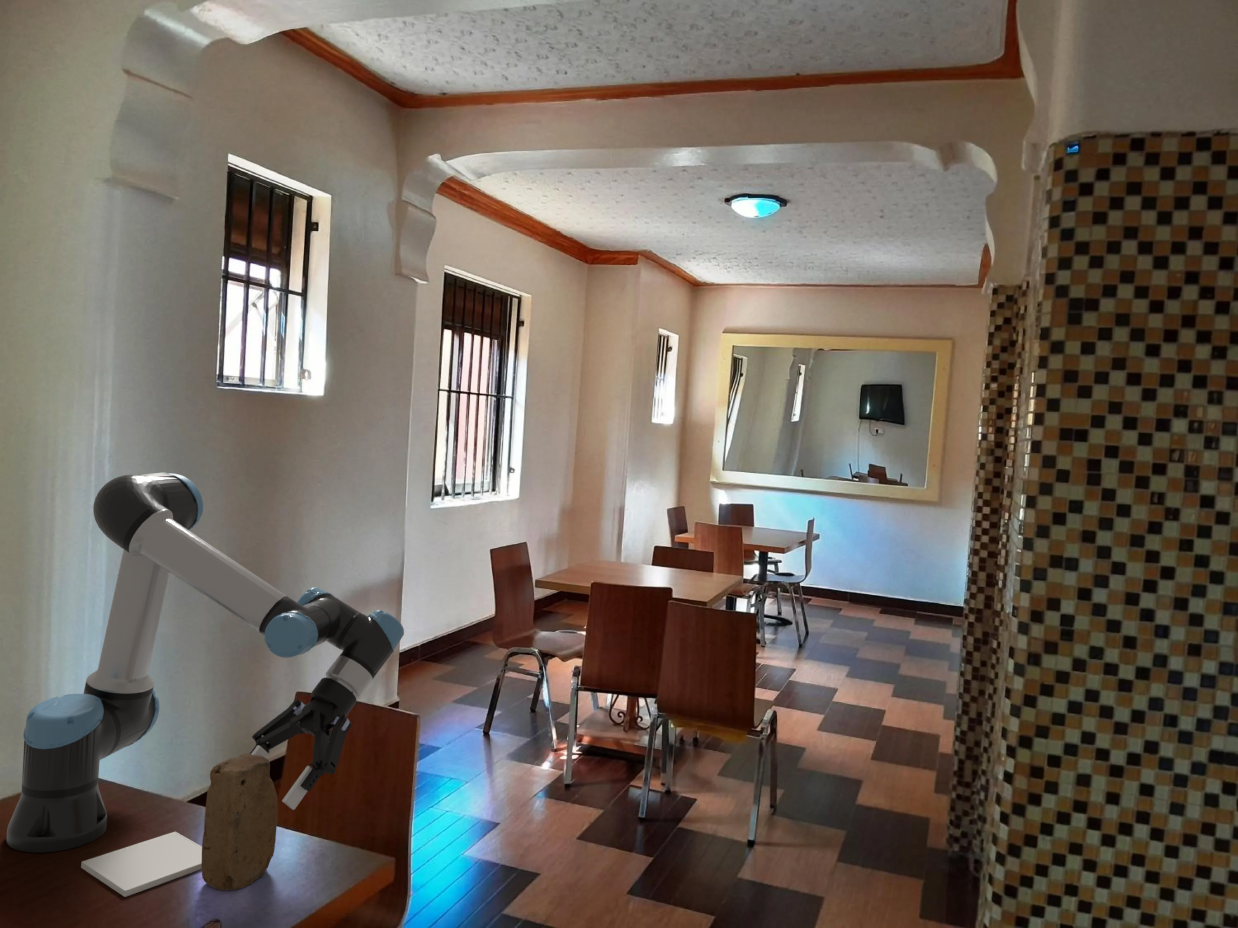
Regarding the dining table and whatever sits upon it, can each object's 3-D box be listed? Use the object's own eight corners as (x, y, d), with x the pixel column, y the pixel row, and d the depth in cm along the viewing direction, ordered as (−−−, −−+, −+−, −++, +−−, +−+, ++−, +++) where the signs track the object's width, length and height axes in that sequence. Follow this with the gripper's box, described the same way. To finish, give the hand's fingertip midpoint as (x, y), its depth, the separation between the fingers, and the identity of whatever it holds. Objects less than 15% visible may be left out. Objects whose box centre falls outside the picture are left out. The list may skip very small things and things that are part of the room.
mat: (81, 867, 151) (81, 861, 151) (174, 836, 164) (175, 831, 164) (124, 896, 143) (125, 890, 143) (219, 862, 156) (219, 856, 156)
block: (225, 898, 145) (234, 773, 144) (194, 884, 148) (202, 762, 147) (280, 871, 154) (288, 755, 154) (249, 859, 158) (256, 745, 157)
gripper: (399, 715, 160) (322, 826, 148) (308, 684, 174) (232, 784, 162) (377, 691, 155) (296, 804, 143) (286, 661, 169) (205, 762, 157)
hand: (262, 793), depth 152 cm, fingers open, 13 cm apart
